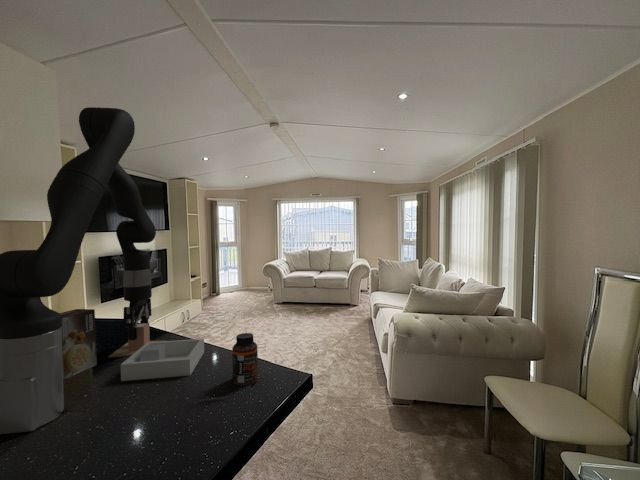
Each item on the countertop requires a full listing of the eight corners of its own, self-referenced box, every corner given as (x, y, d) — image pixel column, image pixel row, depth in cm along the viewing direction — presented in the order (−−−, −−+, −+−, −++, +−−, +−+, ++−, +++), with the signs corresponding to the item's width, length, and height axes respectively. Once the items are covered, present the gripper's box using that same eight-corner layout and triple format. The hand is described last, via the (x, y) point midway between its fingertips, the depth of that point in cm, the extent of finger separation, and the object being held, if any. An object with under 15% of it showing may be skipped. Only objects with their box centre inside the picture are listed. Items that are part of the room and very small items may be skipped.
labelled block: (144, 349, 95) (143, 326, 95) (128, 350, 94) (127, 327, 94) (149, 344, 99) (149, 322, 99) (134, 345, 98) (134, 323, 98)
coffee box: (78, 365, 86) (77, 308, 86) (97, 366, 85) (96, 308, 85) (43, 380, 77) (41, 316, 77) (64, 382, 76) (62, 317, 76)
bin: (190, 377, 77) (189, 359, 77) (121, 383, 75) (120, 364, 75) (204, 353, 93) (203, 338, 93) (147, 358, 90) (147, 342, 90)
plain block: (159, 368, 81) (158, 349, 81) (140, 370, 81) (140, 351, 81) (165, 361, 86) (164, 344, 86) (147, 363, 85) (147, 345, 85)
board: (152, 356, 92) (152, 353, 92) (108, 359, 90) (108, 356, 90) (166, 342, 103) (166, 339, 103) (127, 345, 102) (127, 342, 102)
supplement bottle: (245, 390, 70) (244, 340, 70) (227, 384, 73) (226, 336, 73) (263, 379, 75) (262, 333, 75) (245, 374, 78) (244, 330, 78)
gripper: (140, 287, 90) (142, 342, 90) (158, 280, 104) (159, 328, 104) (113, 288, 89) (114, 344, 89) (134, 281, 103) (135, 329, 103)
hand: (138, 335), depth 96 cm, fingers open, 8 cm apart
